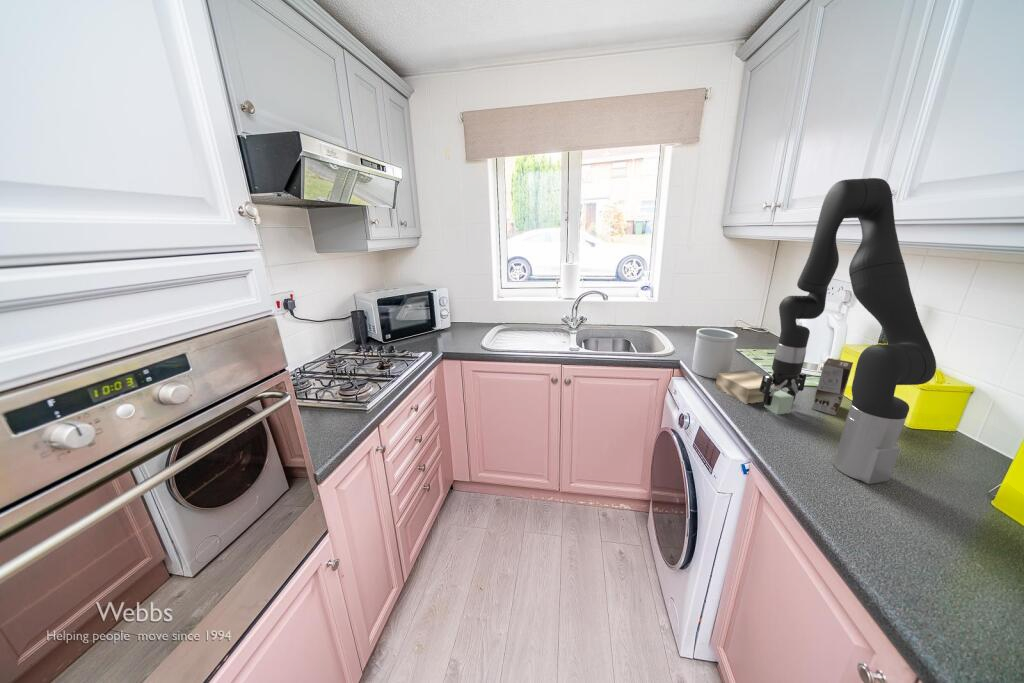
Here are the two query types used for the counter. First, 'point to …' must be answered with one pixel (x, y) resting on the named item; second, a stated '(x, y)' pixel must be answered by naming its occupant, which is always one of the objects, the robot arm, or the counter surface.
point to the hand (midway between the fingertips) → (778, 403)
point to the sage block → (780, 403)
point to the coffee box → (832, 385)
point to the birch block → (742, 385)
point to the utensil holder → (713, 351)
